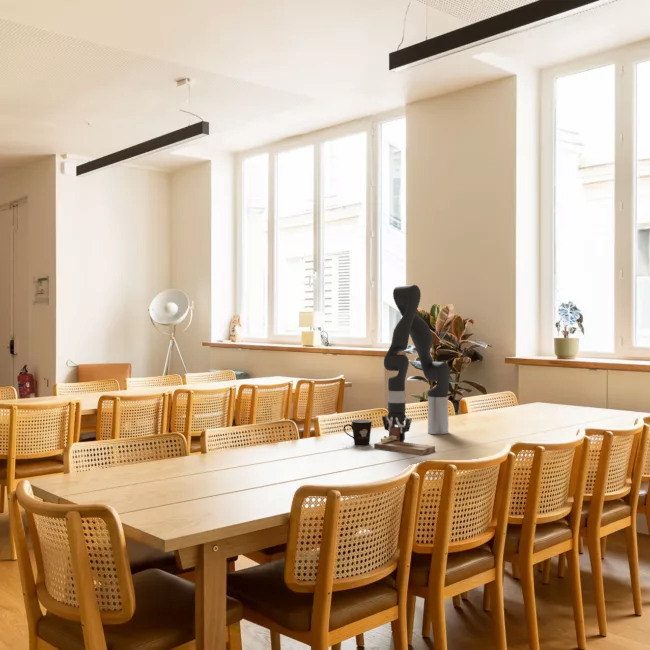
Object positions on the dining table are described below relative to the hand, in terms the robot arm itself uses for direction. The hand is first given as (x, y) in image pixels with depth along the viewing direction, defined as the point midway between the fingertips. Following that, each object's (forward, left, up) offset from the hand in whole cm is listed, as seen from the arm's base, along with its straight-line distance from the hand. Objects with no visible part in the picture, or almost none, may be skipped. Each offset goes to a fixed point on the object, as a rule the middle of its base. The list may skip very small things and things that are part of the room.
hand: (396, 440), depth 305 cm
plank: (+8, +9, -2) cm, 12 cm away
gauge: (+4, 0, -1) cm, 4 cm away
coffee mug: (+9, -14, -2) cm, 17 cm away
